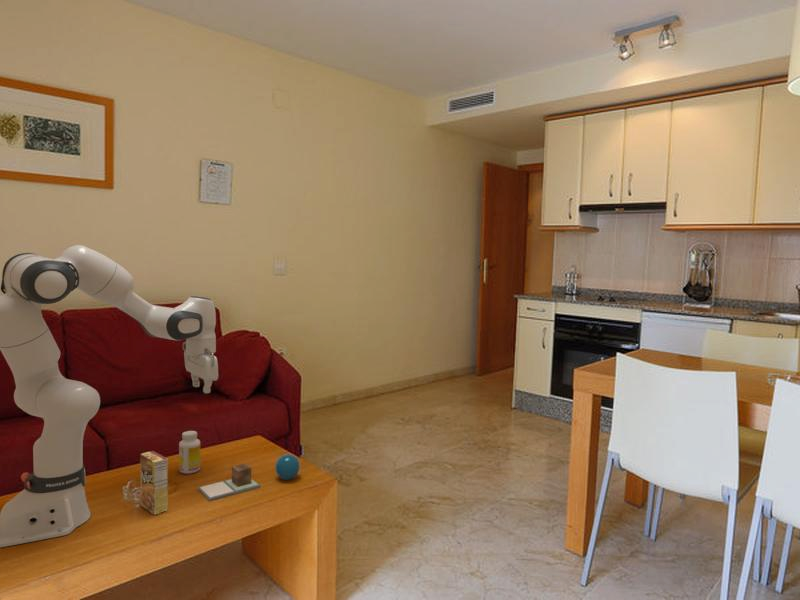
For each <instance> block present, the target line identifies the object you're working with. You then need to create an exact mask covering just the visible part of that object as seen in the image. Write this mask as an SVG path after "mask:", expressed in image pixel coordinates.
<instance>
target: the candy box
mask: <svg viewBox="0 0 800 600" xmlns="http://www.w3.org/2000/svg"><path fill="white" fill-rule="evenodd" d="M139 455H140V468H139V469H140V475H139V476H140V478H139V479H140V484H139V485H140V500H139V501H140V506H141V507H142V508H144V509H145V510H147V511H148V512H150V513H151V514H152V515H153V514H154V515H153V516H156V514H157V515H158V514H162V513H165V512H168V509H169V508H168V506H169V505H168V502H169V501H168V500H169V497H168V496H169V494H168V493H169V491H168V489H169V488H168V487H169V486H168V485H169V482H168V481H169V458H168V457H165V456H163V455H162V454H159V453H158V452H156V451H154V450H151V451H146V452H143V453H140V454H139ZM164 511H165V512H164ZM161 512H162V513H161Z"/></svg>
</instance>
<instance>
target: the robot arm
mask: <svg viewBox="0 0 800 600" xmlns="http://www.w3.org/2000/svg"><path fill="white" fill-rule="evenodd" d="M1 275H2V277H1V283H0V291H1V293H3V294H1V295H0V352H1V353H2V356H3V357H4V359H5V361H6V363H7V365H8V367H9V368H10V371H11V373H12V375H13V378H14V383H15V389H14V392H13V400H14V403H15V405H16V406H17V407H18V408H19V409H21V410H22V412H24V413H27V414H28V415H30V416H34V417H38V418H41V419H42V420H43V421H44V422H43V424H44V425H43V429H42V431H41V432H42V433H41V436H40V437H39V438H37V440H35V441H34V444H33V446H32V452H33V453H32V454H33V455H32V457H33V458H32V459H33V463H32V464H33V472H32V473H29V472H23V473H22V474H21V475H20V478H21V481H22V482H23V483H24V485H23V486H24V489H22V490H21V491H20V492H19V493H18V494H16V495H15V496H14V497H12V498H11V499H10V500H9V501H8V502H6V503H5V504H4V506H3V507H2V509H1V510H0V548H5V547H10V546H15V545H20V544H21V545H22V544H26V543H30V542H31V543H32V542H36V541H42V540H48V539H52V538H56V537H58V538H59V537H62V536H67V535H69V534H71V533H72V532H73V531H74V530H75V529H76V528H77V527H80V526H82V524H85V523H86V522H88V521H89V519H90V518H91V515H92V514H91V511H90V509H89V505H88V502H87V497H86V492H85V486H86V469H85V468H86V467H85V466H84V464H83V463H84V462H83V460H84V459H83V454H84V453H83V451H84V449H83V448H84V447H83V442H84V441H83V440H84V435H85V431H86V427H87V425H88V423H89V422H90V420H92V419H93V418H95V416H96V414H97V413H98V411H99V409H100V406H101V396H100V393H99V392H98V390H97V389H95V388H94V387H92V386H91V385H89V384H88V383H85V382H83V381H79V380H75V379H69V378H66V377H65V376H63V375H62V373H61V371H60V368H59V362H58V361H59V359H60V357H61V350H60V348H59V347H58V344H57V342H56V340H55V339H54V335H53V334H52V332H51V330H50V328H49V326H48V325H47V323H46V321H45V318H43V317H44V316H43V313H42V305H51V304H56V303H59V302H60V301H62V300H63V299H65V298H67V296H68V295H70V294H71V292H73V291H74V290H76V289H77V290H79V291H81V292H83V293H84V294H85V295H86V294H87V296H89V297H91V298H93V299H95V300H97V301H99V302H101V303H103V304H107V305H109V306H112V307H115V308H117V309H118V310H120V311H121V312H123V313H124V314H126V315H127V316H129V317H131V318H133V320H135V321H136V322H137V323H138V324H139V326H140V327H141V329H142V330H143V331H144V333H145V334H146V335H148V336H149V337H150V338H151V337H152V338H158V339H164V340H165V339H167V340H172V341H184V340H185V341H184V342H183V343H182V350H184V352H183V357H184V367H185V370H186V372H189V373H190V376H191V380H192V387H195V388H199V387H200V386H201V384H200V383H201V382H200V379H202V380H203V383H204V385H203V387H202V392H203V393H204V394H210V393H211V387H212V384H213V382H214V381H218V379H219V363H218V358H217V356H215V355H214V353H216V352H217V351H216V350H217V345H216V344H217V341H216V340H217V338H216V337H217V335H216V332H215V328H216V325H217V315H216V314H217V313H216V307H215V302H214V300H212V299H211V298H208V297H203V296H195V295H194V296H192V295H191V296H189V297H188V298H187V299H186V300H185V301H184V302H183V303H181V304H180V305H178V306H175V307H167V306H163V305H158V304H152V303H150V302H148V301H146V300H145V299H144V298H142V297H141V296H139V295H138V294H137V293H135V292H134V287H135V279H134V276H133V275H132V274H131V273H130V272H129V271H128V270H126V269H125V267H123V266H122V265H121V264H119V263H117V262H116V261H114V260H113V259H112V258H109V257H108V256H107V255H104V254H103V253H101V252H99V251H97V250H94V249H92V248H91V247H90V248H89V247H88V246H85V245H81V244H76V245H72V246H70V247H68V248H66V249H65V250H63V252H61V254H60V256H58V257H56V258H50V257H47V256H44V255H41V254H37V253H33V252H23V253H19V254H18V253H17V254H15V255H13V256H12V257H10V258H9V259H8V260H6V262H5V263H4V266H3V268H2V274H1Z"/></svg>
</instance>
